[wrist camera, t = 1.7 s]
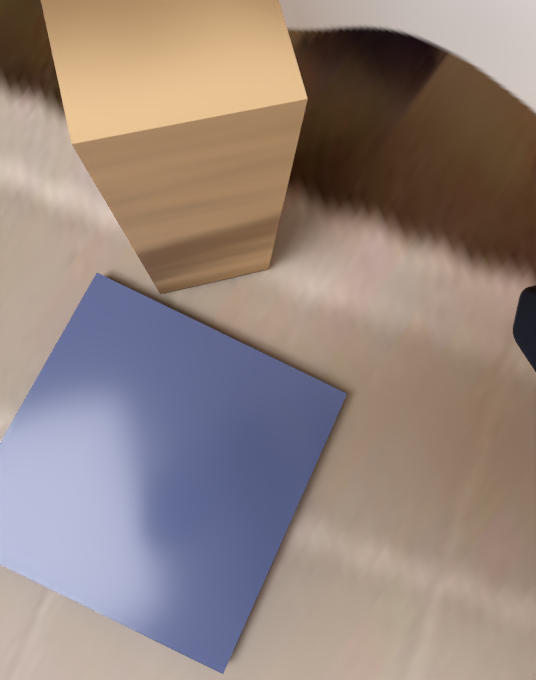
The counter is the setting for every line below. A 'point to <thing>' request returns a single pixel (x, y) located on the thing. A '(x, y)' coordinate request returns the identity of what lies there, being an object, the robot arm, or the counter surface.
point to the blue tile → (158, 470)
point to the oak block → (183, 125)
